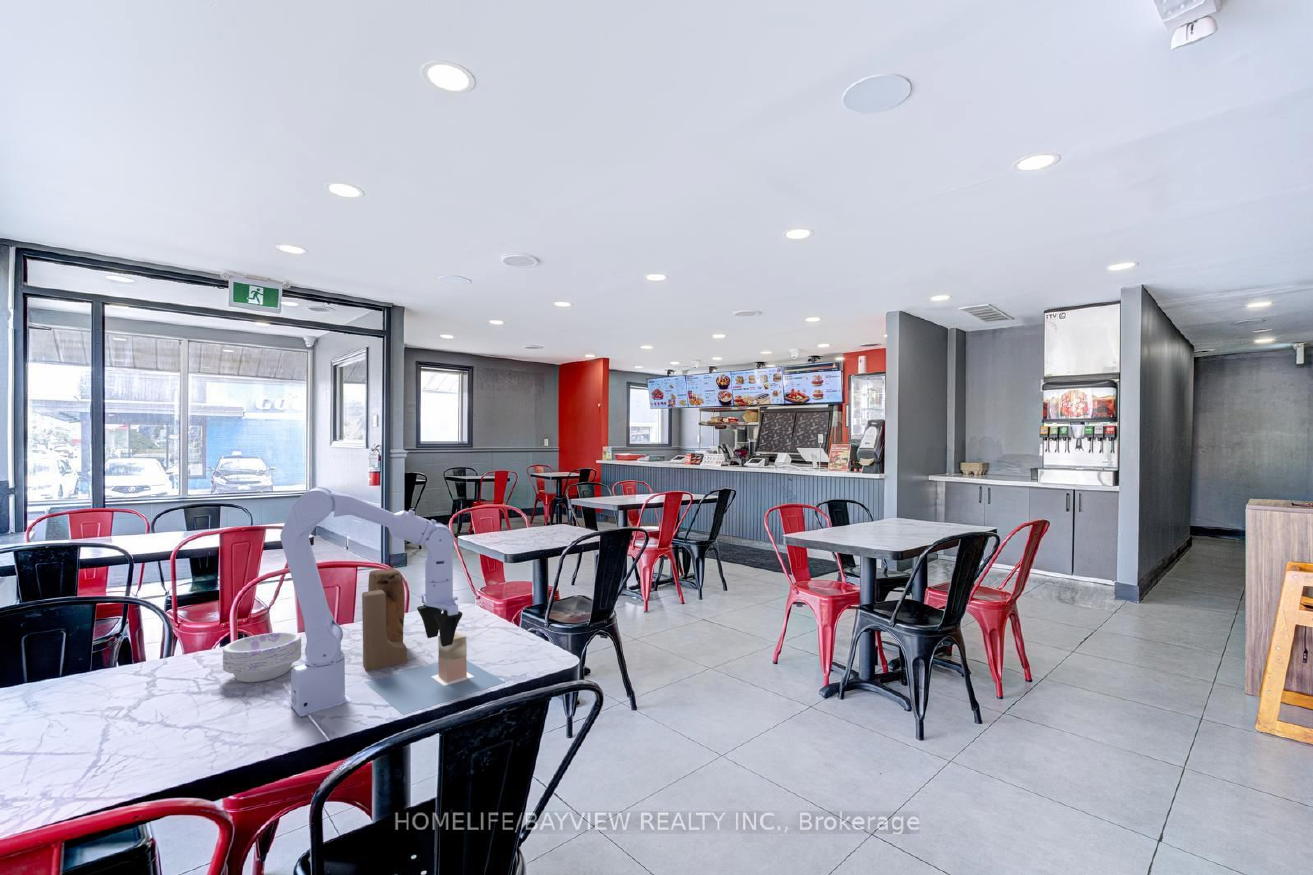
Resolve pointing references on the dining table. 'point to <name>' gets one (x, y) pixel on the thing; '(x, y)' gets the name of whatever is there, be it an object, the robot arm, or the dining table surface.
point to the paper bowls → (262, 656)
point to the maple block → (453, 648)
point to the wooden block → (378, 634)
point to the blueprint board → (429, 687)
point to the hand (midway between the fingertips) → (439, 641)
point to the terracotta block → (452, 669)
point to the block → (391, 600)
